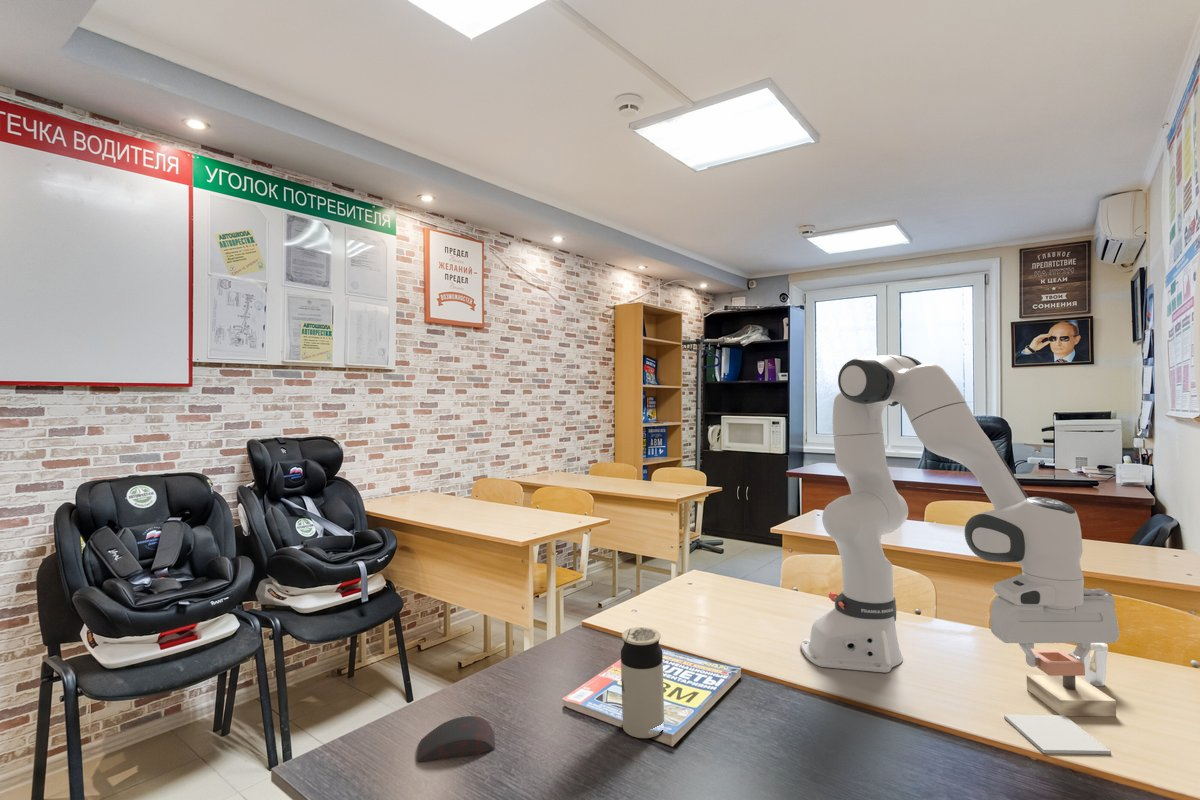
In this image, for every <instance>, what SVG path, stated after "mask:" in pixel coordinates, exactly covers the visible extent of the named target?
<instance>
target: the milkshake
mask: <svg viewBox="0 0 1200 800" xmlns="http://www.w3.org/2000/svg"><path fill="white" fill-rule="evenodd" d="M1108 644H1109V643H1091V649H1090V651H1089V652H1088V654H1087V655H1086V657H1085V658H1084V664H1085V676H1083V678H1084V679H1083V680H1085V681H1086V682H1088V683H1089V684H1091V685H1092V686H1094V687H1103V686H1105V684H1106V672H1107V660H1108V653H1109V646H1108Z"/></svg>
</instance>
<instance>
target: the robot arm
mask: <svg viewBox="0 0 1200 800" xmlns="http://www.w3.org/2000/svg"><path fill="white" fill-rule="evenodd" d="M837 385H838V388H839V391H840V392H838V394H837V395H836V396H835V397H834V399H833V407H832V435H833V445H834V455H835V465H836V468H837V470H838V471H839V472H840V473H842V475H843V476H844V478H845V480H846V481H847V483H848V486H849V490H850V494H846V495H842V496H839V497H838V498H835V499H834V500H833V501H831V502H830V503H828V504H827V505H826V506H825V508H824V509H823V512H822V516H821V518H822V519H821V520H822V525H823V528H824V530H825V532H826V533H827V535H829V536H830V538H831V539H832V540H833V541H834V543H835V544H836V547H837V550H838V553H839V556H840V560H841V569H842V570H841V571H842V576H841V577H842V591H841V593H839V594H837V593H836V592H835V591H833V590H832V591H829V593H828V594H827V597H828V599H830V600H831V601H832V602H834V608H832V609H831V610H829V611H828V612H826V613H825V614H824V615H822V616H821V617H819V618H818V619H815V621H814V622H813V623H812V626H811V629H810V637H805V638H803V639H802V640H801V641H800V642H801V644H800V649H801V652H802V654H803V655H804V657H806V659H807V660H808V661H810V662H811V663H813V664H814V665H815V666H817V667H820V668H821V667H822V668H831V669H832V668H833V669H842V670H851V671H852V670H853V671H862V672H864V671H865V672H874V673H875V672H876V673H886V674H887V673H889V672H891V671H892V669H893V668H894V667H897V666H898V665H900V664H901V663H903V659H904V658H903V655H902V651H901V649H900V643H899V641H898V640H899V639H898V635H897V629H896V621H897V602H896V601H897V600H896V597H895V596H894V568H893V564H892V562H891V561H890V560H889V559H888V558H887V557H886V555H885V553H884V550H883V546H882V541H881V539H882V536H884V535H888V534H891V533H894V532H895V531H897V530H898V529H900V528H901V526H902V525H903V524H905V522H906V521H907V519H908V516H909V507H908V504H907V502H906V500H905V498H904V497H903V496H902V495H901V494H900V493H899V492H898V490H897V489H896V486H895V483H894V481H893V479H892V476H891V474H890V471H889V466H888V462H887V455H886V454H887V453H886V446H885V439H884V429H883V421H882V414H883V411H884V409H885V408H886V406H890V407H895V406H897V405H899V404H900V405H901V407H903V409H904V411H905V413H906V415H907V418H908V420H909V422H910V425H911V426H912V429H913V430H914V432H915V435H916V436H917V438H918V439H919V441H920V442H921V443H922V445H923V446H924V447H925V449H926V450H928V451H929V452H931V453H933V454H935V455H937V456H939V457H943V458H946V459H949V460H952V461H954V462H956V463H959V464H960V465H961V466H964V467H965V468H967V470H969V471H970V472H971V473H972V474H973V475H974V477H975V478H976V480H977V481H978V483H979V485H980V486H981V488H982V490H983V491H984V493H985V494H986V497H988V499H989V501H990V502H991V503H990V504H991V505H992V506H993V509H992V510H986V511H983V512H980V513H977V514H974V515H973V516H971V517H969V519H968V520H967V522H966V524H965V527H964V539H965V542H966V545H967V546H968V547H969V549H970V550H971V552H972V553H973V554H974V555H975V556H977V557H978V558H980V559H981V560H984V561H986V562H987V561H988V562H994V563H1017V564H1020V566H1021V573H1019V574H1017V575H1015V576H1012V577H1009V578H1007V579H1003V580H1000V581H997V582H995V583H994V584H993V592H994V594H996V595H997V596H996V597H995V598H994V599H993V600H992V603H991V607H990V616H989V617H990V623H989V624H990V631H991V633H992V634H993V636H994V637H995V638H997V640H1000V641H1001V642H1003V644H1004V643H1005V644H1018V645H1019V647H1020V648H1021V649H1022V651H1023V652H1024V654H1025V662H1026V665H1028V666H1029V667H1031V668H1037V667H1040V666H1041V664H1040V662H1041V658H1040V657H1038V656H1036V655H1035V654H1033V652H1032V650H1035V644H1075V645H1076V646H1075V649H1074V651H1073V653H1068V655H1070V656H1072V657H1073V658H1075V659H1077V660H1078V661H1080V662H1082V663H1083V664H1084V658H1085V657H1086V655H1087V654H1088V652H1089V651H1090V649H1091V643H1105V644H1106V643H1108V644H1115V643H1116V642H1117V641H1118V640H1119V638H1120V629H1119V623H1118V617H1117V613H1116V610H1115V609H1116V607H1115V606H1116V602H1115V597H1114V595H1113V594H1112V593H1111V592H1109V591H1106V589H1105V588H1085V586H1084V585H1085V583H1084V579H1085V578H1084V573H1083V570H1082V568H1081V558H1082V556H1083V552H1084V551H1083V538H1082V527H1081V522H1080V518H1079V516H1078V513H1077V511H1076V509H1075V508H1074V507H1072V506H1071V505H1069V504H1068V503H1065V502H1063V501H1060V500H1058V499H1055V498H1048V497H1043V496H1042V497H1040V496H1032V497H1031V496H1030V497H1029V495H1028V494H1027V493H1026V491H1025V490H1024V488H1023V487H1022V485H1021V484H1020V482H1019V480H1018V478H1017V477H1016V476H1015V475H1014V472H1013V471H1012V469H1011V468H1010V467H1009V465H1008V463H1007V461H1006V460H1005V458H1004V457H1003V456H1002V454H1001V452H1000V451H999V449H998V448H997V447H996V445H994V443H993V442H992V440H991V439H990V438H989V437H988V435H987V434H986V433H985V432H984V429H982V428H981V425H980V424H979V423H978V421H977V419H976V417H975V416H974V415H973V412H972V411H971V408H970V406H969V405H968V404H967V402H966V399H965V398H964V396H963V394H962V392H961V391H960V389H959V388H958V387H957V385H956V383H955V382H954V381H953V380H952V378H951V377H950V375H949V374H948V373H947V371H945V369H944V368H943V367H941V366H940V365H938V364H934V363H922V362H921V361H919V360H918V359H916V358H914V357H912V356H907V355H903V354H902V355H896V354H895V355H893V354H878V355H873V356H860V357H856V358H853V359H851V360H849V361H847V362H845V363H844V364H843V366H842V367H841V368H840V369H839V372H838V376H837Z"/></svg>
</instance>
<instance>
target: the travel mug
mask: <svg viewBox="0 0 1200 800" xmlns="http://www.w3.org/2000/svg"><path fill="white" fill-rule="evenodd" d="M661 637H662V636H661V633H660V632H659V631H658V630H657V629H654V628H652V627H647V626H639V627H638V626H637V627H636V626H635V627H631V628H627V629H626V630H623V632H622V633H621V639H622V640H623V641H622V642H623V645H622V647H621V650H620V673H621V674H620V675H621V676H620V677H621V704H622V705H621V708H622V709H621V710H622V711H621V712H622V717H621V718H622V729H623V731H624V732H625V733H626V734H627V735H629V736H631V737H633V738H634V737H635V738H637V739H650V738H654V737H657V736H659V735H660V734H656V733H653V734H649V733H648V731H649V730H650V729H653V728H655V727H657V726H659V725H661V724H662V723H663V722H664V723H665V703H664V702H665V699H664V694H665V693H664V659H663V658H664V657H663V656H664V653H663V650H662V647H661V645H660V639H661Z"/></svg>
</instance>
